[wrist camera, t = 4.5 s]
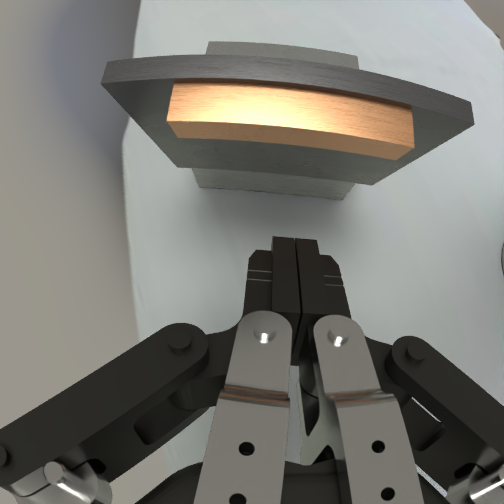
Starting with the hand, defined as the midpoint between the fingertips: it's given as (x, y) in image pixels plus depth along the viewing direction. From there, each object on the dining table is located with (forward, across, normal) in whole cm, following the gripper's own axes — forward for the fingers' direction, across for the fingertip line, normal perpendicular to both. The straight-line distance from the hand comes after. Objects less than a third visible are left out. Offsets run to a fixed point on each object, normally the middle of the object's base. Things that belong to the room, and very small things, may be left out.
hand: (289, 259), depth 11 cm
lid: (+10, 0, -2) cm, 11 cm away
